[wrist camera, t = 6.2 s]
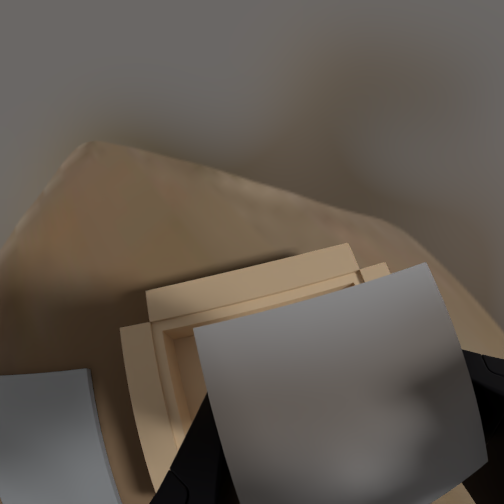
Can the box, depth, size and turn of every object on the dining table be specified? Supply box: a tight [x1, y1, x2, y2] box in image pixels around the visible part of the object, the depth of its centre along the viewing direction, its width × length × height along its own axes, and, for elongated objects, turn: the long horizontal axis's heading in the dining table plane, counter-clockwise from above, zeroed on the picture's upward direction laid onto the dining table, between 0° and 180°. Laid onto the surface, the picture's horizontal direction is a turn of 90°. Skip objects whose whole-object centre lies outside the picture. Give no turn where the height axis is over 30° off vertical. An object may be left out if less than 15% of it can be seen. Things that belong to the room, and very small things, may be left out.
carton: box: [120, 243, 390, 492], centre depth 16 cm, size 17×17×4 cm
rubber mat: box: [0, 368, 122, 504], centre depth 14 cm, size 14×14×1 cm
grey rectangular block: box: [193, 262, 488, 504], centre depth 9 cm, size 5×5×10 cm
